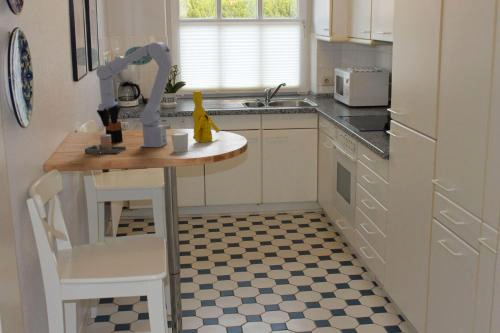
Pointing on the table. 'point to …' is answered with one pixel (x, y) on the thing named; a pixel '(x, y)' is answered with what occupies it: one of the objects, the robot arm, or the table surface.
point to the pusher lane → (94, 149)
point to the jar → (106, 142)
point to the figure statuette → (202, 121)
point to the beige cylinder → (180, 142)
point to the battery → (114, 131)
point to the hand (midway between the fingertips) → (110, 124)
